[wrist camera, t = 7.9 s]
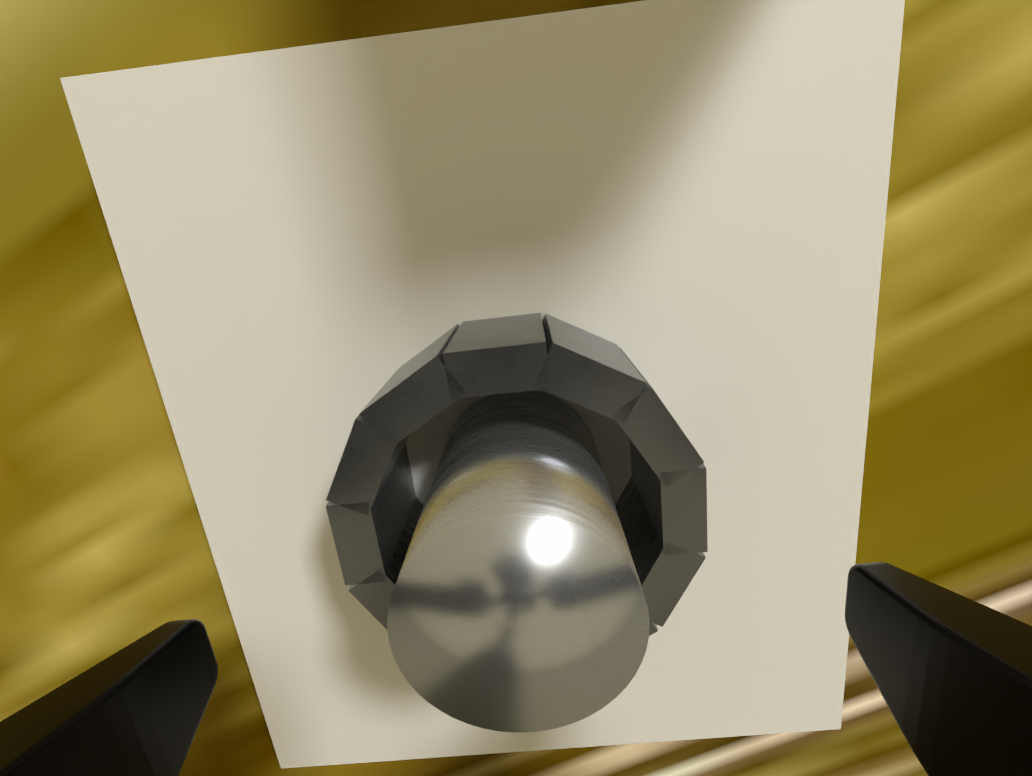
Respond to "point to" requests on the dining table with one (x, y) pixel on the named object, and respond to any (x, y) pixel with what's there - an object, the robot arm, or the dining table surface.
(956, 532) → the dining table surface
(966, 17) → the dining table surface
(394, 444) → the gunmetal ring
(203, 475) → the base plate
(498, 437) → the steel pin
